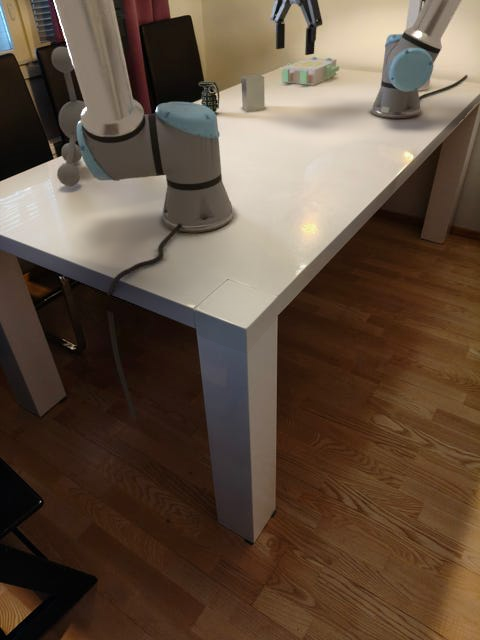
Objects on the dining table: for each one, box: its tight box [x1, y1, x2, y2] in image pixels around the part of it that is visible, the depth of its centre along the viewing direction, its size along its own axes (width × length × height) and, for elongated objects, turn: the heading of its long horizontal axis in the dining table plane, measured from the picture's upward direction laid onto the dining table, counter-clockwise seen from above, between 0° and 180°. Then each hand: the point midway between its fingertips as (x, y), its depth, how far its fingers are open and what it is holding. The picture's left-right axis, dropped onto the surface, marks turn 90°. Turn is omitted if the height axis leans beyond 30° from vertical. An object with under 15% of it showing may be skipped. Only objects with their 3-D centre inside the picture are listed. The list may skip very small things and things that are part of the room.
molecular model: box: [50, 46, 86, 187], centre depth 124 cm, size 24×22×30 cm
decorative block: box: [281, 56, 340, 86], centre depth 204 cm, size 26×6×20 cm
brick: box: [240, 73, 266, 113], centre depth 172 cm, size 7×5×11 cm
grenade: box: [197, 81, 220, 114], centre depth 169 cm, size 7×6×10 cm
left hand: (120, 48), depth 115 cm, fingers open, 13 cm apart
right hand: (294, 51), depth 144 cm, fingers open, 13 cm apart
